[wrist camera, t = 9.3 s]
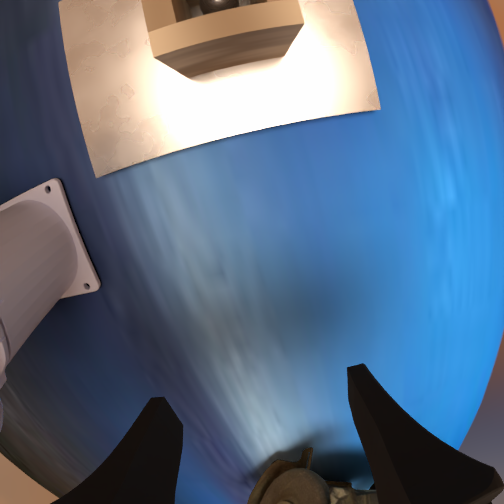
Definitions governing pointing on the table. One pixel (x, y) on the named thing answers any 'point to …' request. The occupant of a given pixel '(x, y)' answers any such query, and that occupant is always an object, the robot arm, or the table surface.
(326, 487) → the bench grinder
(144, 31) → the base plate
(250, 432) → the table surface
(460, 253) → the table surface
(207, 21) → the hollow square block
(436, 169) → the table surface
